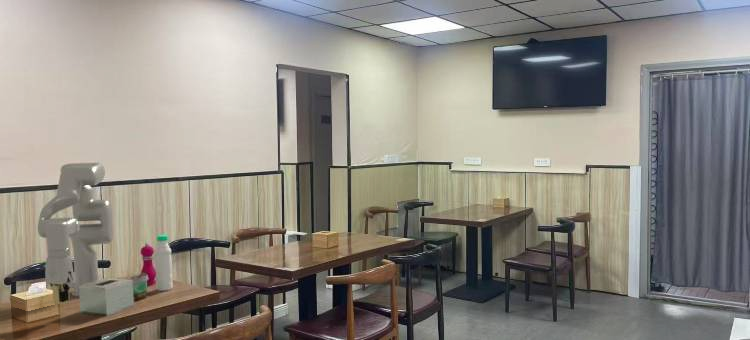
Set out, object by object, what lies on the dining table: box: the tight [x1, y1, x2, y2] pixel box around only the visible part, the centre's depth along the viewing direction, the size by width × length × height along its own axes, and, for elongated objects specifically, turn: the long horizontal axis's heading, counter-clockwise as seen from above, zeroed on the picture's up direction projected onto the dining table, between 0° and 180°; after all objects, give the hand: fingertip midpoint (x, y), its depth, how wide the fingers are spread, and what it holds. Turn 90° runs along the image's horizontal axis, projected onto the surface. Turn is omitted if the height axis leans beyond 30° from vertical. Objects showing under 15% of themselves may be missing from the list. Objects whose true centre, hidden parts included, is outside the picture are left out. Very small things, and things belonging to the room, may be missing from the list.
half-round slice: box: [127, 272, 149, 302], centre depth 249 cm, size 12×6×10 cm, turn 168°
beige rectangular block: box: [52, 284, 71, 305], centre depth 220 cm, size 2×5×7 cm, turn 159°
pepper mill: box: [139, 242, 157, 287], centre depth 275 cm, size 7×7×20 cm
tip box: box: [79, 277, 135, 317], centre depth 234 cm, size 14×14×11 cm
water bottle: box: [154, 234, 174, 292], centre depth 264 cm, size 7×7×25 cm
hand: (61, 300), depth 220 cm, fingers closed on beige rectangular block, 2 cm apart
